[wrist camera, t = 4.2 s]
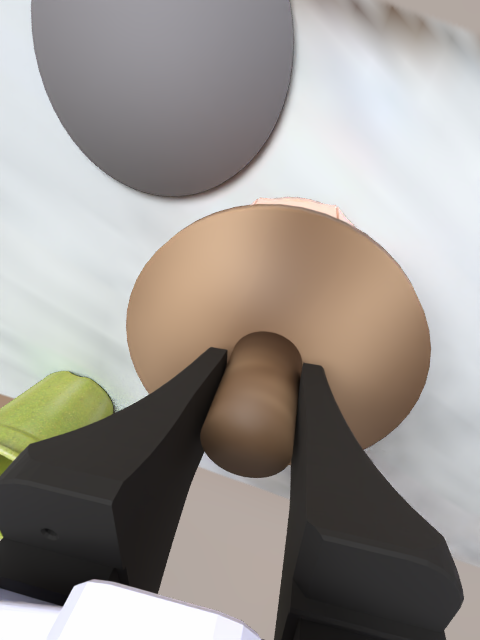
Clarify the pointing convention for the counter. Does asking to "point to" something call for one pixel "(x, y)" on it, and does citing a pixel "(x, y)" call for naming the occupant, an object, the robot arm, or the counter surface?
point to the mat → (166, 84)
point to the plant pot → (50, 412)
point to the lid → (280, 327)
